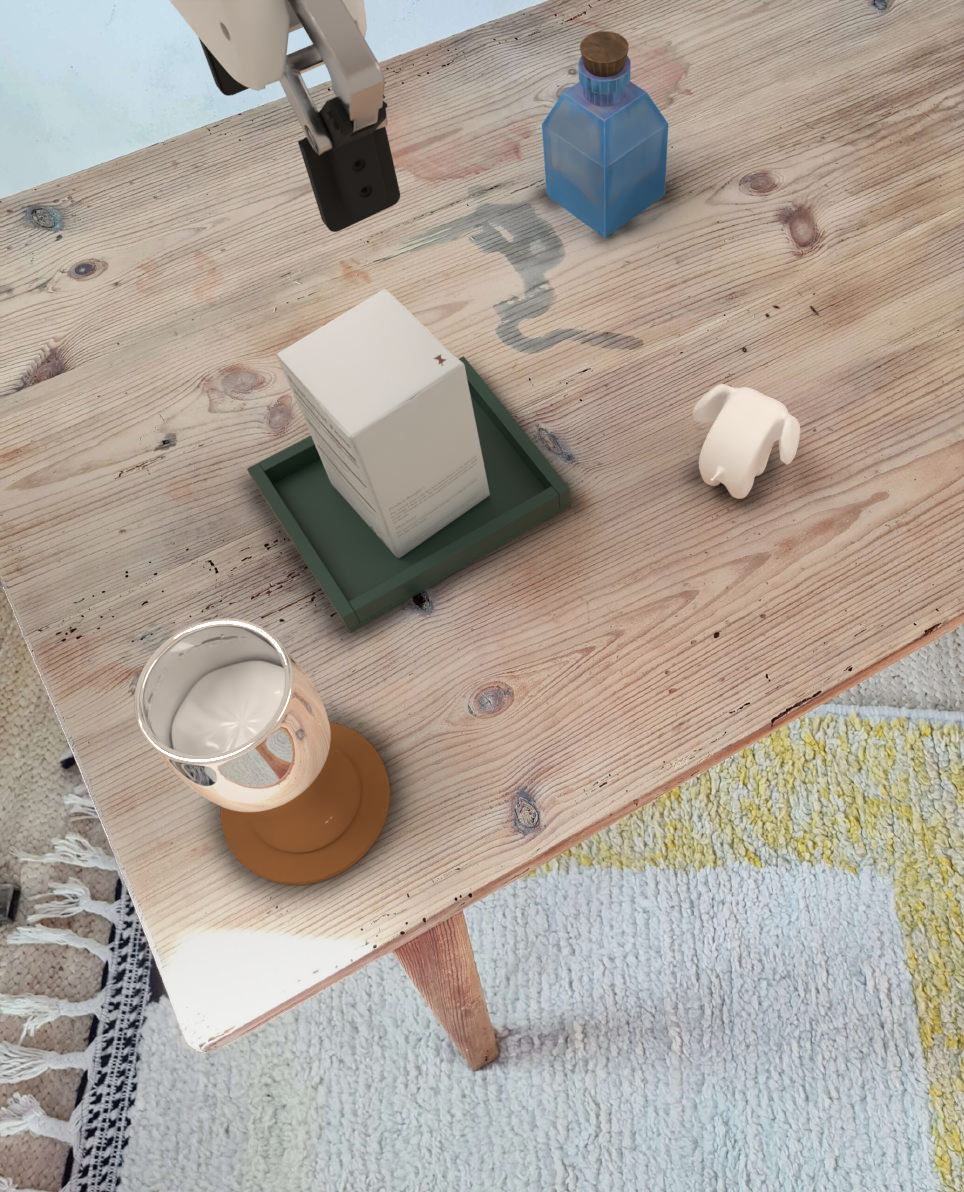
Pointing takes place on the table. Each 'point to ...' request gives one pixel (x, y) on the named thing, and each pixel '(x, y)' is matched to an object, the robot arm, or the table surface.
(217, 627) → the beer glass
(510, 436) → the tray
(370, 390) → the white packaging box
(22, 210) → the table surface
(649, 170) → the perfume bottle
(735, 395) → the elephant figurine
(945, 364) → the table surface
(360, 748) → the coaster
